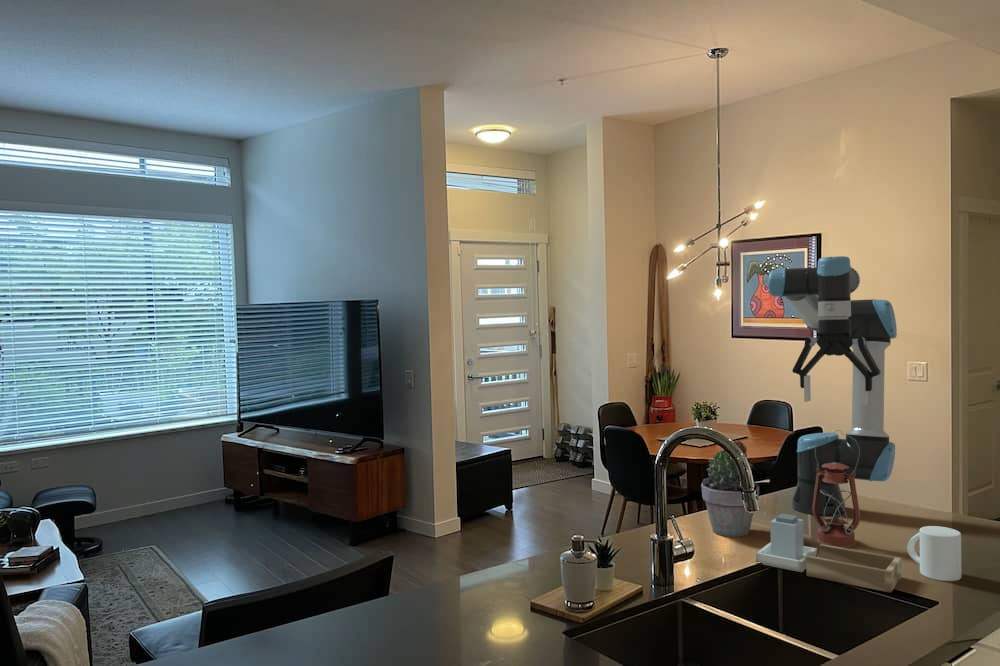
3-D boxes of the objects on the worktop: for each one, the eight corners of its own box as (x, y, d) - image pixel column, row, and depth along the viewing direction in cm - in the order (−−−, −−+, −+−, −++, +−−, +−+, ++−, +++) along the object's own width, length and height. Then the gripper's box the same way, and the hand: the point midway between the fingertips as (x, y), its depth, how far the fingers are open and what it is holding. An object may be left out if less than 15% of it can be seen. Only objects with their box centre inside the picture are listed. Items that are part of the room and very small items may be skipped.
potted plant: (694, 541, 200) (693, 449, 199) (698, 520, 219) (697, 437, 218) (765, 546, 194) (763, 452, 193) (763, 524, 213) (762, 439, 212)
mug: (945, 538, 165) (897, 524, 176) (946, 584, 165) (897, 567, 176) (969, 532, 169) (919, 519, 179) (969, 577, 169) (920, 561, 180)
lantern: (848, 535, 201) (847, 426, 200) (863, 548, 191) (862, 433, 190) (811, 535, 202) (810, 427, 201) (824, 548, 192) (822, 433, 191)
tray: (772, 550, 191) (772, 540, 191) (817, 558, 184) (816, 548, 184) (756, 563, 182) (755, 553, 182) (802, 572, 175) (802, 561, 175)
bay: (820, 562, 181) (820, 543, 181) (901, 577, 170) (901, 557, 170) (806, 575, 173) (806, 556, 172) (890, 592, 161) (890, 572, 161)
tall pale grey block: (779, 550, 187) (778, 511, 187) (803, 555, 184) (803, 515, 183) (770, 557, 183) (770, 517, 182) (795, 562, 179) (795, 521, 179)
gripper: (778, 319, 190) (780, 401, 190) (886, 318, 174) (886, 407, 175) (788, 318, 195) (789, 398, 196) (893, 317, 180) (893, 403, 180)
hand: (835, 402), depth 185 cm, fingers open, 13 cm apart
